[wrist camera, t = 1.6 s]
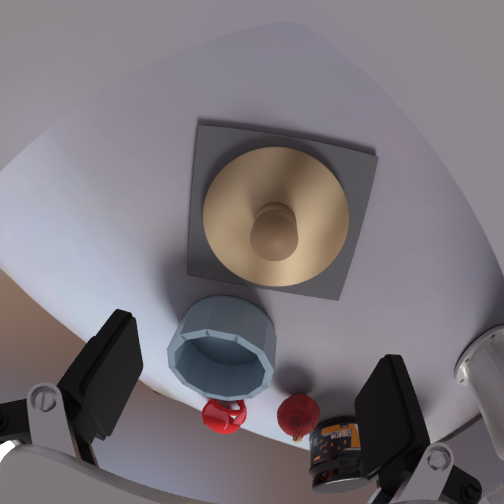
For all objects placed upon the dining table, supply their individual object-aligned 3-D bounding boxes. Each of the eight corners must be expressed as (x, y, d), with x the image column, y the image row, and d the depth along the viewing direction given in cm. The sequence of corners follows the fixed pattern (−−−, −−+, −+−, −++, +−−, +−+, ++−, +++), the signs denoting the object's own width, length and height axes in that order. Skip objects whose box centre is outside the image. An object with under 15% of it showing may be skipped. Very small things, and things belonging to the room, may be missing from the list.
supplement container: (374, 411, 37) (384, 472, 27) (359, 439, 42) (365, 491, 31) (312, 416, 39) (313, 480, 28) (306, 442, 43) (305, 496, 32)
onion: (278, 382, 36) (275, 430, 28) (320, 381, 35) (323, 430, 28) (278, 405, 38) (275, 449, 31) (316, 404, 37) (318, 448, 30)
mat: (376, 156, 22) (378, 156, 22) (337, 297, 29) (338, 300, 28) (200, 125, 23) (198, 125, 23) (189, 271, 29) (187, 274, 29)
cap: (199, 397, 34) (188, 429, 34) (238, 417, 32) (224, 449, 32) (222, 385, 42) (212, 414, 41) (256, 400, 40) (243, 429, 39)
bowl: (283, 304, 30) (282, 342, 24) (266, 370, 35) (262, 406, 29) (184, 286, 30) (164, 319, 25) (184, 354, 35) (170, 387, 30)
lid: (360, 163, 22) (378, 171, 18) (327, 290, 28) (334, 320, 23) (213, 137, 23) (196, 140, 18) (201, 268, 28) (186, 295, 24)
